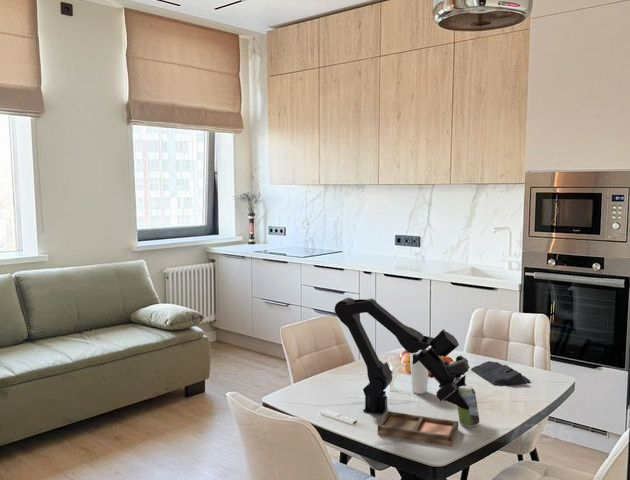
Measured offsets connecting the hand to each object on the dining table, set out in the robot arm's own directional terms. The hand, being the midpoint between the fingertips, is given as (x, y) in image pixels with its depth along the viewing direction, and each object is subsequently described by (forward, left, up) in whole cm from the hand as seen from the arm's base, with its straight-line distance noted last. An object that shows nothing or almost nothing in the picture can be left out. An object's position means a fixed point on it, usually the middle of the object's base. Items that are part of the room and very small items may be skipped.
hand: (470, 404), depth 179 cm
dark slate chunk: (+4, +51, -7) cm, 52 cm away
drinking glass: (-21, +23, -7) cm, 32 cm away
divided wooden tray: (-14, -11, -7) cm, 19 cm away
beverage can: (-1, 0, -7) cm, 7 cm away
